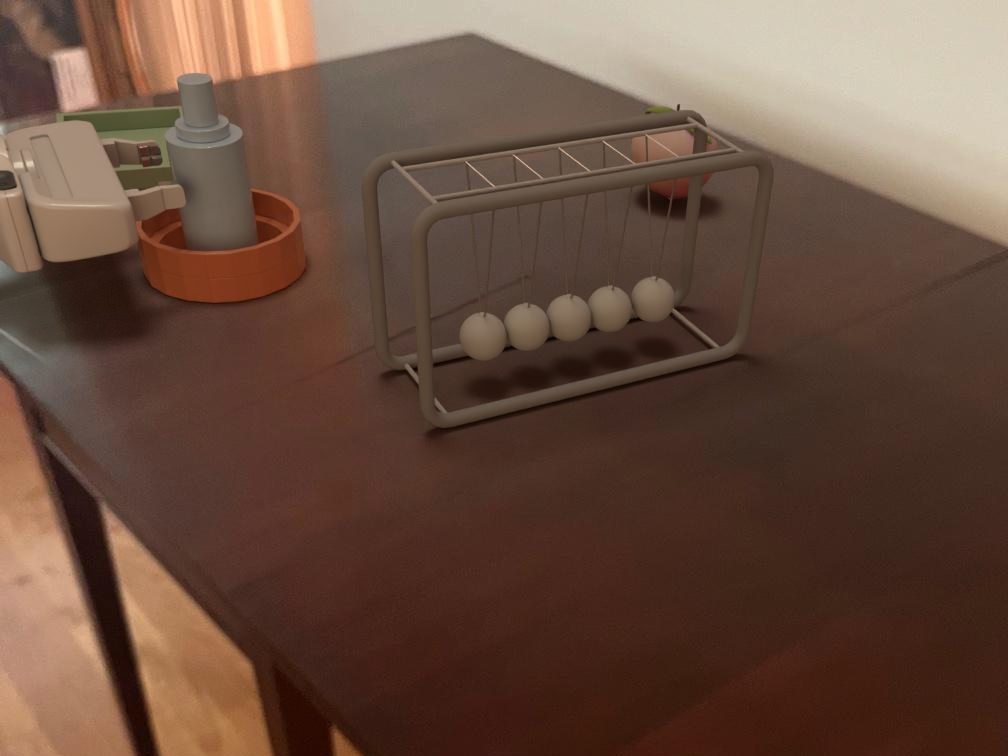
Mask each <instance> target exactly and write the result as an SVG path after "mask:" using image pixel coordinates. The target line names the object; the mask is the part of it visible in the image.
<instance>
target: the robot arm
mask: <svg viewBox="0 0 1008 756" xmlns="http://www.w3.org/2000/svg"><path fill="white" fill-rule="evenodd" d="M162 162H163V160H162V155H161V150H160V147H159V146H158V144H157V143H156V141H154V140H146V141H136V142H135V141H131V140H124V139H117V138H107V139H99V137H98V135H97V133H96V130H95V128H94V126H93V125H92V123H90V122H86V121H78V120H73V121H65V122H58V123H56V122H53V123H46V124H41V125H34V126H29V127H23V128H19V129H16V130H13V131H11V132H9V133H7V134H6V136H5V137H4V134H2V133H0V261H1V262H3V264H6V265H7V266H8V267H9V268H11V270H13V271H14V272H17V273H30V272H36V271H40V270H42V269H43V267H44V261H43V260H46V261H48V262H51V263H66V262H74V261H79V260H87V259H91V258H99V257H103V256H106V255H112V254H116V253H120V252H124V251H126V250H128V249H130V248H131V247H133V246H134V245H136V244H137V242H138V241H139V237H138V232H137V226H136V222H135V221H141V220H147V219H149V218H151V217H153V216H155V215H157V214H159V213H161V212H163V211H165V210H168V209H175V208H182V207H184V206H185V204H186V199H185V194H184V190H183V188H182V186H181V185H180V183H179V182H178V181H176V180H171V181H169V182H168V181H164V182H158V186H156V187H153V188H148V189H141V190H138V189H130V190H124V189H123V187H122V185H121V182H120V180H119V178H118V176H117V174H116V172H115V170H114V168H118V167H120V165H142V167H143V168H144V167H151V166H160V165H161V164H162Z"/></svg>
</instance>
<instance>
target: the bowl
mask: <svg viewBox="0 0 1008 756" xmlns="http://www.w3.org/2000/svg"><path fill="white" fill-rule="evenodd" d="M251 191H252V197H253V204H254V211H255V218H256V224H257V231H258V238H259V244H258V245H255V246H251V247H246V248H240V249H235V250H227V251H208V252H204V251H192V250H186V245H185V240H184V235H183V230H182V224H181V219H180V214H179V209H178V208H175V209H168V210H165V211H163V212H161V213H159V214H157V215H155V216H153V217H151V218H149V219H147V220H141V221H135V222H136V226H137V232H138V237H139V241H138V242H137V243H136V244H137V248H138V253H139V257H140V261H141V266H142V270H143V274H144V277H145V278H146V280H147V281H148V283H149V284H150V286H151V287H152V288H153V289H155V290H157V291H159V292H160V293H162V294H164V295H166V296H169V297H173V298H175V299H181V300H183V301H186V302H187V301H188V302H201V303H211V304H216V303H217V304H218V303H219V304H221V303H234V302H242V301H243V302H244V301H249V300H253V299H257V298H262V297H265V296H268V295H270V294H274V293H275V292H279V291H281V290H283V289H285V288H287V287H289V286H290V285H291V284H293V283H294V282H295V281H297V280H298V279H300V278H301V276H302V274H303V272H304V271H305V270H306V268H307V260H306V253H305V244H304V237H303V229H302V220H301V212H300V211H301V210H300V208H298V207H297V206H296V205H295V204H294V203H293V202H292V201H291V200H290V199H288V198H285V197H283V196H281V195H279V194H277V193H274V192H270V191H266V190H261V189H258V188H251Z"/></svg>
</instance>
